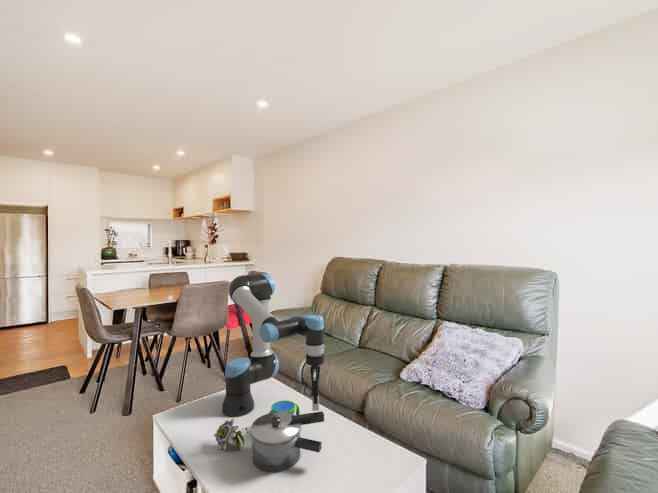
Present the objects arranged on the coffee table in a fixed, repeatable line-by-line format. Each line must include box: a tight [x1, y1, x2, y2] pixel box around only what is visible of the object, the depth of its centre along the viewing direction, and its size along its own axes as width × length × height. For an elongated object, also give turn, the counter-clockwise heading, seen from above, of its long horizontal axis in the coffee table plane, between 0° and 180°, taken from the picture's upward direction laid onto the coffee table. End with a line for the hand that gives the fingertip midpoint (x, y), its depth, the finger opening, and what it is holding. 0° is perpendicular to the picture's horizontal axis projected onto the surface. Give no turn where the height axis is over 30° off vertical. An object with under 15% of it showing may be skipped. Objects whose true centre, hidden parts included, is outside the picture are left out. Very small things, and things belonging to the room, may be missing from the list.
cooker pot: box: [251, 432, 323, 474], centre depth 126 cm, size 18×27×10 cm, turn 70°
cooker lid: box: [250, 410, 325, 445], centre depth 128 cm, size 28×19×4 cm
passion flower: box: [213, 418, 249, 451], centre depth 134 cm, size 11×11×12 cm
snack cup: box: [268, 399, 301, 415], centre depth 145 cm, size 16×10×10 cm
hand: (315, 409), depth 138 cm, fingers closed
